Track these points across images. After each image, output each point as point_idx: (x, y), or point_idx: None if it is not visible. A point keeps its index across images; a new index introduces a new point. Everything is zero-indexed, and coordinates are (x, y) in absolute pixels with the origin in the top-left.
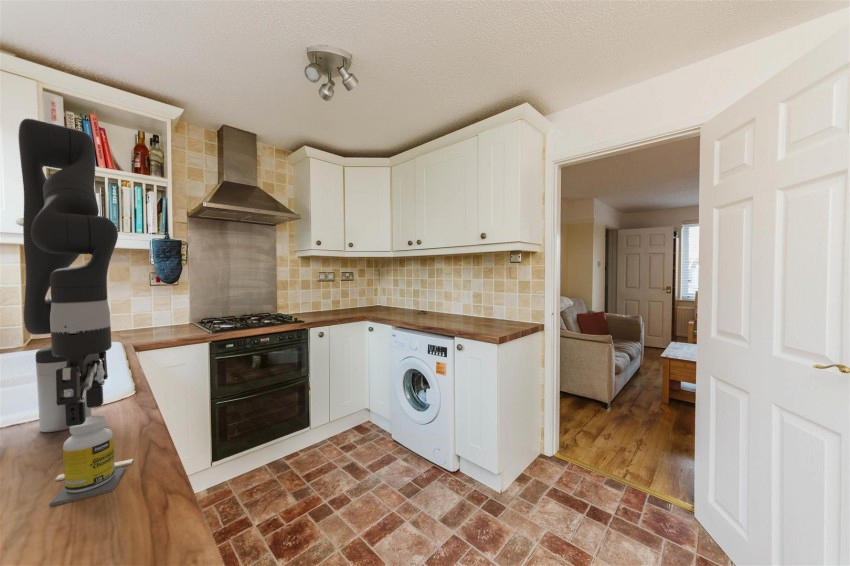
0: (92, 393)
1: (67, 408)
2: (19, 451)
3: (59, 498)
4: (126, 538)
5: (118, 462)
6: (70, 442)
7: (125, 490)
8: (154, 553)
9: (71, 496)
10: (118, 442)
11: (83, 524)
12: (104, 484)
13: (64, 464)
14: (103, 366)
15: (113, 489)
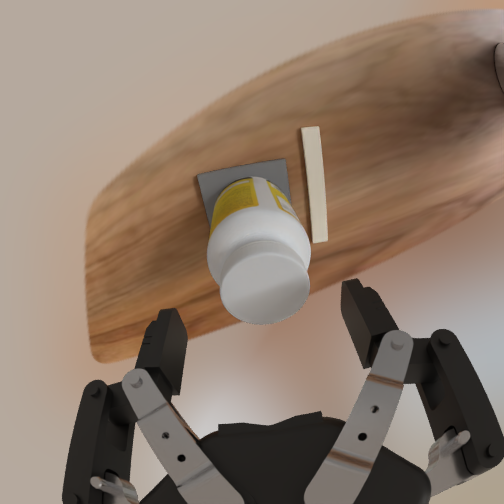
0: (359, 332)
1: (135, 367)
2: (447, 25)
3: (210, 182)
4: (109, 311)
5: (324, 220)
6: (218, 246)
7: None
8: (93, 336)
9: (209, 201)
10: (423, 178)
11: (136, 256)
12: None
13: (223, 204)
14: (430, 423)
15: None
